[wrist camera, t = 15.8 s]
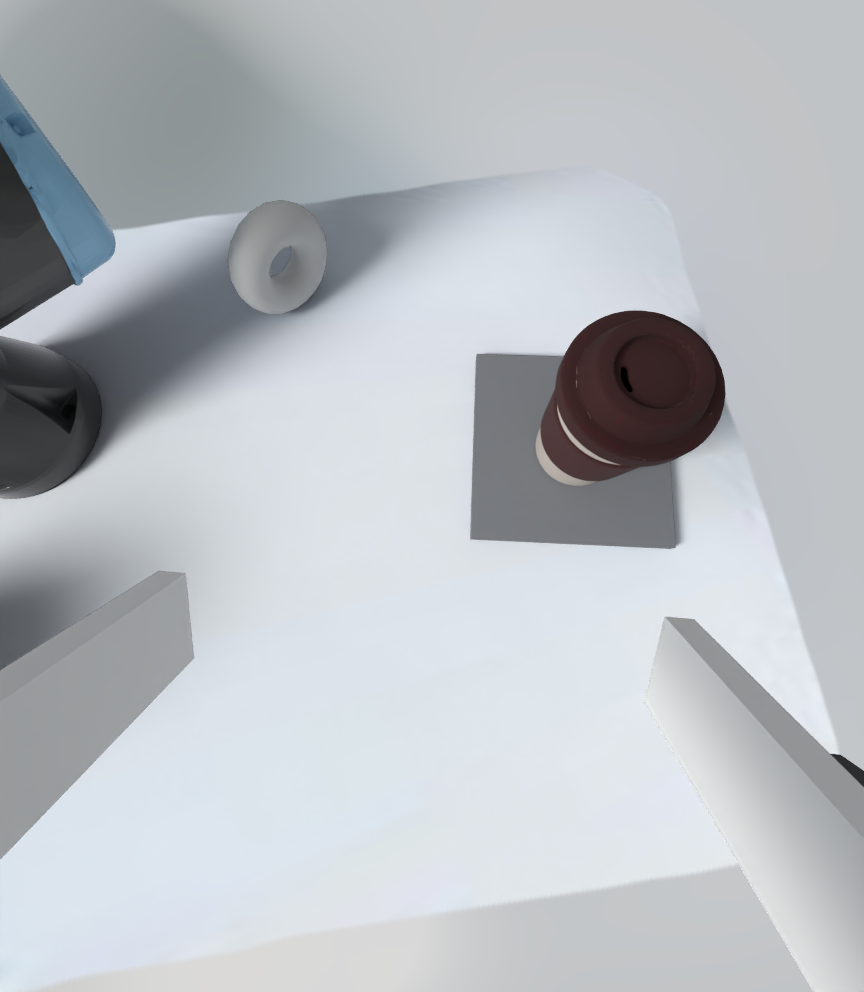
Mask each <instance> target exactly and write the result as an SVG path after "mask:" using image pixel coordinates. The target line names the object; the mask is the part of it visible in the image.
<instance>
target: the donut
mask: <svg viewBox="0 0 864 992" xmlns="http://www.w3.org/2000/svg"><path fill="white" fill-rule="evenodd" d="M289 246H291V257H290V260H289V262H288V264H287V266H286V267H285V268H284V269H283V271H282V272H280V273H279V274H277V275H274V276H270V266H271V263H272V261H273V259H274V257H275V256H276V255H277V254H278V252H279V251H280V250H282V249H283V248H285V247H289ZM326 260H327V245H326V240H325V235H324V232H323V230H322V228H321V226H320V225H319V223H318V221H317V219H316V218H315V217H314V216H313V215H312V214H311V213H310V212H309V211H307V210H306V209H305V208H304V207H302V206H301V205H299V204H297V203H293V202H289V201H284V200H278V201H273V202H267V203H264V204H262V205H260V206H259V207H257V208H255V209H254V210H252V211H250V212H249V214H248V215H247V216H246V217H245V218H244V219H243V220H242V222H241V223H240V224H239V225H238V227H237V229H236V231H235V234H234V236H233V238H232V240H231V243H230V249H229V255H228V265H229V273H230V278H231V281H232V283H233V285H234V287H235V289H236V291H237V293H238V295H239V296H240V297H241V298H242V299H243V300H244V301H245V302H246V303H247V304H248V305H249V306H250V307H252V308H254V309H256V310H259V311H261V312H264V313H267V314H283V313H285V312H288V311H291V310H294V309H296V308H298V307H299V306H300V305H302V304H303V303H305V302H306V301H307V300H308V299H309V298H310V297H311V296H312V294H313V293H314V292H315V291H316V289H317V287H318V285H319V284H320V282H321V280H322V277H323V274H324V271H325V268H326Z"/></svg>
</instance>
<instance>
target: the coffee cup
mask: <svg viewBox="0 0 864 992" xmlns="http://www.w3.org/2000/svg"><path fill="white" fill-rule="evenodd" d="M724 401H725V382H724V377H723V373H722V369H721V367H720V365H719V362H718V360H717V358H716V356H715V354H714V353H713V351H712V350H711V348H710V347H709V346H708V344H707V343H706V342H705V341H704V340H703V339H702V338H701V337H700V336H699V335H698V334H697V333H696V332H695V331H693V330H692V329H691V328H689V327H688V326H686V325H685V324H683V323H681V322H679V321H678V320H675V319H673V318H671V317H668V316H666V315H663V314H659V313H655V312H648V311H624V312H619V313H614V314H611V315H608V316H605V317H603V318H600V319H598V320H597V321H595V322H593V323H592V324H590V325H589V326H587V327H586V328H585V329H584V330H582V331H581V332H580V333H579V334H578V335H577V336H576V338H575V339H574V340H573V342H572V343H571V345H570V346H569V348H568V350H567V351H566V353H565V355H564V357H563V359H562V361H561V363H560V365H559V368H558V372H557V376H556V384H555V390H554V392H553V394H552V396H551V399H550V401H549V403H548V405H547V408H546V410H545V412H544V415H543V418H542V421H541V427H540V429H539V431H538V434H537V438H536V454H537V458H538V460H539V462H540V465H541V466H542V468H543V469H544V470H545V472H546V473H547V474H548V475H550V476H551V477H552V478H553V479H555V480H557V481H559V482H561V483H564V484H567V485H572V486H584V485H589V484H592V483H595V482H597V481H603V480H608V479H611V478H614V477H616V476H619V475H622V474H624V473H627V472H629V471H632V470H634V469H637V468H639V467H648V466H655V465H660V464H664V463H667V462H670V461H672V460H674V459H676V458H678V457H680V456H682V455H684V454H686V453H688V452H690V451H692V450H693V449H695V448H696V447H698V446H699V445H700V444H702V443H703V442H704V441H705V440H706V439H707V438H708V437H709V435H710V434H711V433H712V431H713V430H714V428H715V427H716V425H717V423H718V421H719V419H720V417H721V414H722V410H723V407H724Z"/></svg>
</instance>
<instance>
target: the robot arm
mask: <svg viewBox="0 0 864 992" xmlns="http://www.w3.org/2000/svg"><path fill="white" fill-rule="evenodd" d="M115 243H116V242H115V237H114V234H113V231H112V229H111V228H110V226H109V224H108V223H107V221H106V220H105V218H104V217H103V215H102V214H101V212H100V211H99V210H98V208H97V207H96V205H95V204H94V202H93V201H92V200H91V198H90V197H89V196H88V194H87V193H86V191H85V190H84V188H83V187H82V186H81V184H80V183H79V181H78V180H77V179H76V177H75V176H74V175H73V173H72V172H71V170H70V169H69V168H68V166H67V165H66V163H65V162H64V161H63V159H62V158H61V156H60V155H59V154H58V153H57V151H56V150H55V149H54V147H53V146H52V144H51V143H50V142H49V140H48V139H47V138H46V136H45V135H44V133H43V132H42V131H41V129H40V128H39V127H38V125H37V124H36V122H35V121H34V120H33V118H32V117H31V116H30V114H29V113H28V112H27V110H26V109H25V108H24V106H23V105H22V103H21V102H20V101H19V99H18V98H17V97H16V95H15V94H14V93H13V91H12V90H11V89H10V87H9V86H8V85H7V83H6V82H5V81H4V79H3V78H2V77H1V75H0V329H2V328H3V327H5V326H7V325H8V324H10V323H11V322H13V321H15V320H16V319H18V318H19V317H21V316H23V315H24V314H26V313H27V312H29V311H31V310H32V309H34V308H36V307H37V306H39V305H40V304H42V303H44V302H45V301H47V300H48V299H50V298H52V297H53V296H55V295H56V294H58V293H60V292H61V291H63V290H65V289H66V288H68V287H69V286H71V285H73V284H75V285H77V286H78V285H80V284H81V283H82V281H83V278H84V277H85V276H87V275H88V274H89V273H91V272H92V271H94V270H95V269H97V268H98V267H99V266H101V265H102V264H104V263H105V262H107V261H108V260H109V259H110V258H111V257H112V255H113V254H114V251H115ZM100 422H101V403H100V398H99V394H98V391H97V389H96V386H95V384H94V382H93V381H92V379H91V378H90V377H89V375H88V374H87V373H86V372H85V371H84V370H83V369H82V368H81V367H80V366H78V365H77V364H75V363H74V362H72V361H70V360H68V359H67V358H65V357H63V356H61V355H60V354H58V353H56V352H54V351H52V350H50V349H48V348H45V347H42V346H39V345H36V344H32V343H28V342H24V341H19V340H15V339H11V338H7V337H3V336H0V498H4V499H17V498H25V497H30V496H33V495H37V494H40V493H42V492H45V491H47V490H49V489H51V488H53V487H54V486H56V485H58V484H59V483H61V482H62V481H64V480H65V479H66V478H68V477H69V476H70V475H71V474H72V473H73V472H74V471H75V470H76V469H77V468H78V467H79V466H80V465H81V464H82V462H83V461H84V460H85V458H86V457H87V455H88V454H89V452H90V451H91V449H92V447H93V445H94V443H95V440H96V438H97V435H98V431H99V427H100ZM193 659H194V653H193V643H192V633H191V623H190V613H189V603H188V593H187V583H186V573H177V572H166V571H158V572H156V573H155V574H153V575H152V576H150V577H148V578H147V579H145V580H144V581H142V582H140V583H139V584H137V585H136V586H134V587H132V588H131V589H129V590H128V591H126V592H124V593H123V594H121V595H120V596H118V597H116V598H115V599H113V600H112V601H110V602H108V603H107V604H105V605H104V606H102V607H100V608H99V609H97V610H96V611H94V612H92V613H91V614H89V615H88V616H86V617H84V618H83V619H81V620H80V621H78V622H76V623H75V624H73V625H72V626H70V627H68V628H67V629H65V630H64V631H62V632H60V633H59V634H57V635H55V636H54V637H52V638H51V639H49V640H47V641H46V642H44V643H43V644H41V645H39V646H38V647H36V648H35V649H33V650H31V651H30V652H28V653H27V654H25V655H23V656H22V657H20V658H19V659H17V660H15V661H14V662H12V663H11V664H9V665H7V666H6V667H4V668H3V669H1V670H0V859H1V858H2V857H3V856H4V855H5V854H6V853H7V852H8V851H9V850H10V849H11V848H12V847H13V846H14V845H15V844H16V843H17V842H18V841H19V840H20V839H21V837H22V836H23V835H24V834H25V833H26V832H27V831H28V830H29V829H30V828H31V827H32V826H33V825H34V824H35V823H36V822H37V821H38V820H39V819H40V818H41V817H42V816H43V815H44V814H45V813H46V811H47V810H48V809H49V808H50V807H51V806H52V805H53V804H54V803H55V802H56V801H57V800H58V799H59V798H60V797H61V796H62V795H63V794H64V793H65V792H66V791H67V790H68V789H69V788H70V787H71V785H72V784H73V783H74V782H75V781H76V780H77V779H78V778H79V777H80V776H81V775H82V774H83V773H84V772H85V771H86V770H87V769H88V768H89V767H90V766H91V765H92V764H93V763H94V762H95V761H96V759H97V758H98V757H99V756H100V755H101V754H102V753H103V752H104V751H105V750H106V749H107V748H108V747H109V746H110V745H111V744H112V743H113V742H114V741H115V740H116V739H117V738H118V737H119V736H120V735H121V734H122V732H123V731H124V730H125V729H126V728H127V727H128V726H129V725H130V724H131V723H132V722H133V721H134V720H135V719H136V718H137V717H138V716H139V715H140V714H141V713H142V712H143V711H144V710H145V709H146V708H147V706H148V705H149V704H150V703H151V702H152V701H153V700H154V699H155V698H156V697H157V696H158V695H159V694H160V693H161V692H162V691H163V690H164V689H165V688H166V687H167V686H168V685H169V684H170V683H171V682H172V680H173V679H174V678H175V677H176V676H177V675H178V674H179V673H180V672H181V671H182V670H183V669H184V668H185V667H186V666H187V665H188V664H189V663H190V662H191V661H192V660H193ZM644 704H645V706H646V707H647V709H648V711H649V712H650V714H651V716H652V717H653V719H654V721H655V723H656V724H657V726H658V728H659V729H660V731H661V733H662V735H663V736H664V738H665V740H666V741H667V743H668V745H669V746H670V748H671V750H672V752H673V753H674V755H675V757H676V758H677V760H678V762H679V764H680V765H681V767H682V769H683V770H684V772H685V774H686V775H687V777H688V779H689V781H690V782H691V784H692V786H693V787H694V789H695V791H696V792H697V794H698V796H699V798H700V799H701V801H702V803H703V804H704V806H705V808H706V810H707V811H708V813H709V815H710V816H711V818H712V820H713V821H714V823H715V825H716V827H717V828H718V830H719V832H720V833H721V835H722V837H723V838H724V840H725V842H726V844H727V845H728V847H729V849H730V850H731V852H732V854H733V856H734V857H735V859H736V861H737V862H738V864H739V866H740V867H741V869H742V871H743V872H744V874H745V876H746V878H747V879H748V881H749V883H750V884H751V886H752V888H753V890H754V891H755V893H756V895H757V896H758V898H759V900H760V901H761V903H762V904H763V907H764V908H765V910H766V912H767V913H768V915H769V917H770V919H771V920H772V922H773V923H774V925H775V927H776V929H777V930H778V932H779V934H780V936H781V937H782V939H783V941H784V942H785V944H786V946H787V947H788V949H789V951H790V953H791V954H792V956H793V958H794V959H795V961H796V963H797V965H798V966H799V968H800V970H801V971H802V973H803V975H804V976H805V978H806V980H807V981H808V983H809V985H810V987H811V988H812V990H813V992H864V771H863V770H862V769H860V768H859V767H857V766H856V765H854V764H853V763H851V762H850V761H848V760H847V759H846V758H844V757H843V756H841V755H837V754H830V753H829V752H828V751H827V750H826V749H825V748H823V747H822V746H821V745H820V744H819V743H818V742H817V741H816V740H815V739H814V738H813V737H812V736H811V735H810V734H809V733H808V732H807V731H806V730H805V729H804V728H803V727H802V726H801V725H800V724H799V723H798V722H797V721H796V720H795V719H794V718H793V717H792V716H791V715H790V714H789V713H788V712H787V711H786V710H785V709H784V708H783V707H782V706H781V705H780V704H779V703H778V702H777V701H776V700H775V699H774V698H773V697H772V696H771V695H770V694H769V693H768V692H767V691H766V690H765V689H764V688H763V687H762V686H761V685H760V684H759V683H758V682H757V681H756V680H755V679H754V678H753V677H752V676H751V675H750V674H749V673H748V672H747V671H746V670H745V669H744V668H743V667H742V666H741V665H740V664H739V663H738V662H737V661H736V660H735V659H734V658H733V657H732V656H731V655H730V654H729V653H728V652H727V651H726V650H725V649H724V648H723V647H722V646H721V645H720V644H719V643H718V642H717V641H715V640H714V639H713V638H712V637H711V636H710V635H709V634H708V633H707V632H706V631H705V630H704V629H703V628H702V627H701V626H700V625H699V624H698V623H697V622H696V621H695V620H694V619H685V618H674V617H665V618H664V622H663V626H662V630H661V634H660V638H659V642H658V646H657V651H656V655H655V659H654V663H653V667H652V671H651V675H650V679H649V683H648V687H647V691H646V695H645V699H644Z"/></svg>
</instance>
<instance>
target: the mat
mask: <svg viewBox="0 0 864 992" xmlns="http://www.w3.org/2000/svg"><path fill="white" fill-rule="evenodd" d="M562 359H563V357H558V356H528V355H497V354H477V356H476V376H475V407H474V439H473V470H472V502H471V533H470V539H475V540H497V541H518V542H539V543H560V544H581V545H603V546H624V547H645V548H666V549H671V548H676V545H675V529H674V512H673V496H672V479H671V463H670V462H667V463H664V464H660V465H655V466H648V467H639V468H637V469H634V470H632V471H629V472H627V473H624V474H622V475H619V476H616V477H614V478H611V479H608V480H603V481H597V482H595V483H592V484H589V485H584V486H572V485H567V484H564V483H561V482H559V481H557V480H555V479H553V478H552V477H551V476H550V475H548V474H547V473H546V472H545V470H544V469H543V468H542V466H541V465H540V462H539V460H538V458H537V454H536V438H537V434H538V431H539V429H540V427H541V421H542V418H543V415H544V412H545V410H546V408H547V405H548V403H549V401H550V399H551V396H552V394H553V392H554V390H555V384H556V376H557V372H558V368H559V365H560V363H561V361H562Z"/></svg>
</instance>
